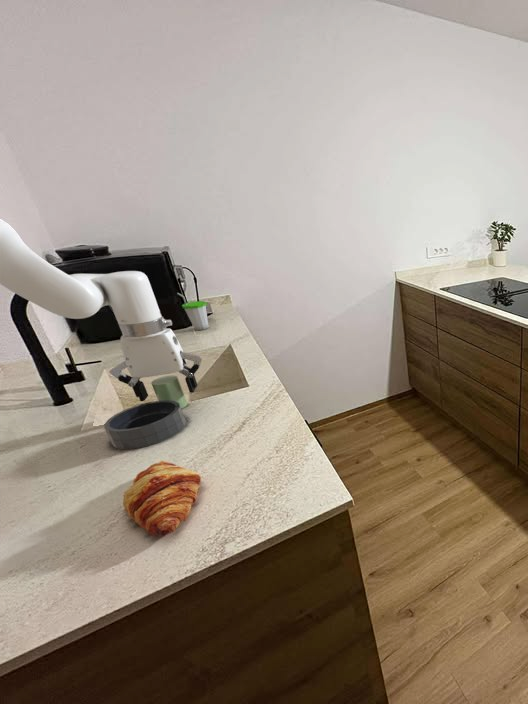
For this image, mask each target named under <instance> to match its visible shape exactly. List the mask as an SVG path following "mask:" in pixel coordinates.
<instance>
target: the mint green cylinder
mask: <svg viewBox="0 0 528 704" xmlns="http://www.w3.org/2000/svg"><path fill="white" fill-rule="evenodd" d="M150 384H151V387H152V389H153V392H154V394H155V396H156V399H157V401H162V400H171V401H176V402H178V403H179V404H180V407H181V410H182V409H184V408H185V407H186V406H187V405H188V402H187V399H186V397H185V394H184V391H183V388H182V385H181V383H180V381H179V377H178V376H177V375H165V376H161V377H158V378H156V379H154V380H152V381H151V382H150Z"/></svg>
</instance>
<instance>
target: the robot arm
mask: <svg viewBox="0 0 528 704" xmlns="http://www.w3.org/2000/svg"><path fill="white" fill-rule="evenodd" d="M0 285H1V286H3V287H4V288H6V289H7V290H9V291H10V292H11V293H14V294H16V295H18V296H19V297H21V298H22V299H25V300H27V301H29V302H31V303H32V304H34V305H36V306H38V307H40V308H42V309H44V310H46V311H48V312H50V313H52V314H54V315H57V316H59V317H63V318H65V319H66V318H67V319H73V320H78V319H79V320H80V319H87V318H90V317H92V316H94V315H95V314H96V313H97V312H99V311H100V309H101V308H103V307H105V306H110V307H111V309H112V312H113V314H114V316H115V320H116V321H117V324H118V326H119V330H120V331H121V334H122V335H121V336H120V345H121V351H122V355H123V358H124V361H123V362H121V363H119V364H117V365H116V366H114V367H112V368H111V369H110V370H109V374H110V375H112V376H113V377H114V378H115V379H117V380H118V381H119V382H122V383H124V384H125V385H128V387H130V388H132V390H133V393H134V395H135V397H136V398H138V399H139V401H140V402H144V401H146V399H147V398H148V397H149V394H148V391H147V388H146V386H145V383H144V381H142V380H141V379H142V378H149V377H156V376H162V375H169V374H174V373H175V374H176V373H179V374H181V375H183V376H185V379H184V380H185V383H186V386H187V389H188V391H189V393H195V391H196V388H198V382H197V378H196V376H195V374H196V372H197V371H198V370H199V369H200V367H201V363H202V361H203V356H201V355H198V354H195V353H190V352H185V351H184V350H183V348H182V345H181V344H180V341H179V340H178V338H177V336H176V334H175V333H174V331H173V329H171V328H167V327H170V326H173V321H172V320H171V319H165V318H164V316H162V313H161V310H160V308H159V305H158V301H157V299H156V296H155V294H154V291H153V288H152V284H151V283H150V280H149V278H148V275H146V274H145V272H142V271H138V270H124V271H116V272H110V273H73V274H68V273H66V272H65V271H63V270H61V269H59V268H58V267H56V266H54V265H53V264H51V263H50V262H48V261H47V260H46V259H44V258H42V257H41V256H40V255H38V254H37V253H36V252H35V251H34V250H32V249H31V248H30V247H29V246H28V245H27V244H26V243H25V242H24V241H23V240H22V238H21V236H20V235H19V233H18V232H17V231H16V229H15V228H14V227H12V225H11V224H9V223H8V222H7V221H5V220H3V219H1V218H0ZM188 361H192V362H193V364H192V366H189V365H187V363H188ZM126 368H127V371H128V373H129V374H126V373H124V372H123V370H125V369H126Z"/></svg>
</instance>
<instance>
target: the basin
mask: <svg viewBox="0 0 528 704" xmlns="http://www.w3.org/2000/svg"><path fill="white" fill-rule="evenodd" d="M183 412H184V411H183V410H182V409H181V407H180V404H179V403H178V402H176V401H171V400H162V401H158V400H154V401H148V402H144V403H141V404H136V405H134V406H132V407H129V408H126V409H124V410H122V411H119V412H117V413H116V414H114V415H112V416H111V417H110V418H108V419H107V420H106V421H105V422H104V425H103V427H104V431H105V432H106V435H107V436H108V439H109V440H110V443H111V444H112V445H111V446H113V447H114V448H115V449H117V450H118V449H119V450H135V449H141V448H145V447H149V446H152V445H155V444H158V443H161V442H163V441H165V440H169V439H170V438H172V437H173V436H175V435H176V434H178V433H180V432H181V431H182V430H183V429H184V428H185V427H186V424H187V420H186V418H185V415H184V413H183Z"/></svg>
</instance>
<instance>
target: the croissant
mask: <svg viewBox="0 0 528 704" xmlns="http://www.w3.org/2000/svg"><path fill="white" fill-rule="evenodd" d="M132 482H133V483H132V485H131V486H129V488H128V489H127V490H126V491H125V492H123V493H124V494H123V500H122V505H123V507H124V512H125V513H126V514H127V515H128V516H129V517H130V518H131V519H132V520H134V521H135V523H137V525H139V527H141V528H143V529H144V530H146V531H147V532H148V534H150V535H154V536H167V535H170V534H171V533H173V532H174V531H175V530H177V528H178V527H179V525H180V524H181V523H182V522H183V521H185V520H186V518H187V517H189V514H190V513H191V509H192V507H193V505H194V504H195V503H196V500H197V496H198V491H199V488H200V485H201V482H202V481H201V475H200V474H199V473H198V472H196V471H193V470H191V469H187V468H185V467H183V466H179V465H176V464H175V463H172V462H168V461H164V460H160V461H159V462H156V463H153V464H151V465H149V467H147V468H146V469H144V470H142V471H140V472H139V473H137V475H136V476H135V478H133V481H132Z"/></svg>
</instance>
